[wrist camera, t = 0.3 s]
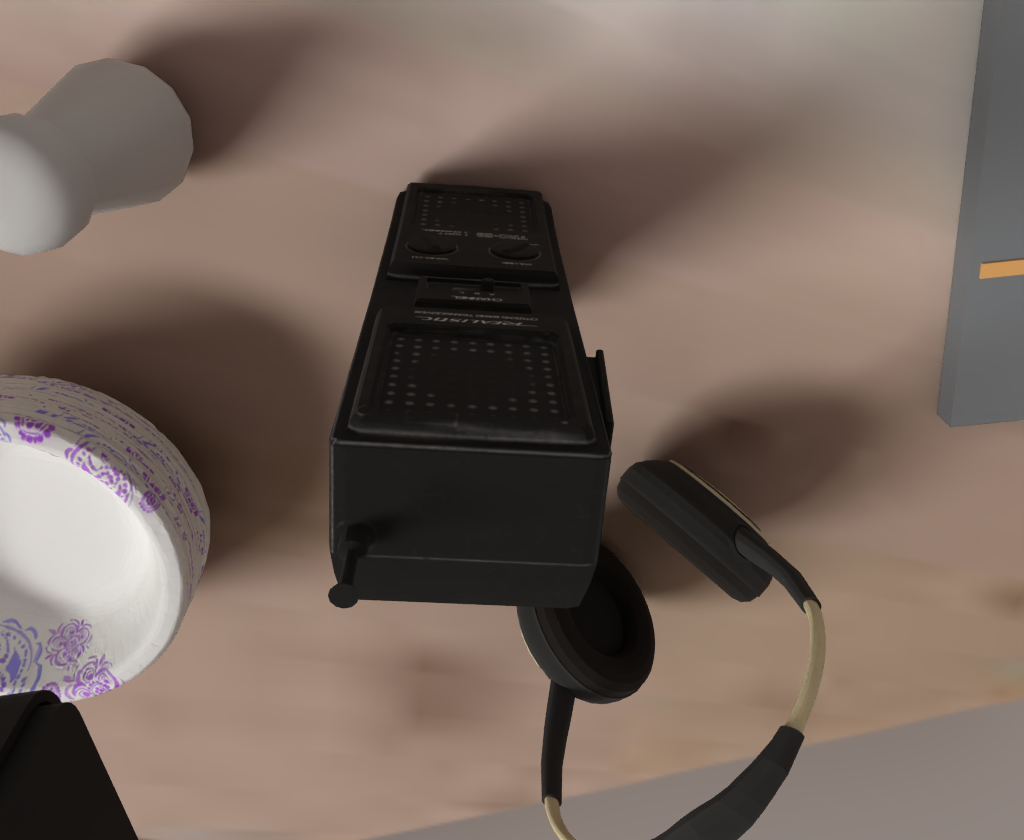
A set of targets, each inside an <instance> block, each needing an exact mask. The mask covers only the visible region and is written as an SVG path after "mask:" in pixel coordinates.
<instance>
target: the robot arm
mask: <svg viewBox="0 0 1024 840" xmlns="http://www.w3.org/2000/svg"><path fill="white" fill-rule="evenodd" d="M0 840H138V838H137V836H136V833H135V831H134V829H133V827H132V825H131V823H130V820H129V818H128V816H127V814H126V812H125V810H124V807H123V805H122V803H121V801H120V799H119V797H118V794H117V792H116V790H115V788H114V786H113V784H112V781H111V779H110V777H109V775H108V773H107V771H106V768H105V766H104V764H103V762H102V760H101V758H100V755H99V753H98V751H97V749H96V747H95V745H94V742H93V740H92V738H91V736H90V734H89V732H88V729H87V727H86V725H85V723H84V721H83V719H82V716H81V714H80V712H79V711H78V709H77V708H76V706H75V705H73V704H72V703H68V702H64V703H62V702H61V700H60V699H59V697H58V696H57V695H56V694H55V693H53V692H52V691H51V690H38V691H31V692H23V693H16V694H9V695H2V696H0Z"/></svg>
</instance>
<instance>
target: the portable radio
mask: <svg viewBox="0 0 1024 840" xmlns="http://www.w3.org/2000/svg"><path fill="white" fill-rule="evenodd" d="M613 427H614V421H613V414H612V408H611V401H610V394H609V388H608V381H607V374H606V367H605V361H604V354H603V351H602V350H597V351H596V357H586V353H585V349H584V345H583V342H582V338H581V334H580V330H579V326H578V322H577V319H576V315H575V311H574V307H573V303H572V299H571V295H570V291H569V287H568V283H567V279H566V275H565V271H564V267H563V263H562V259H561V255H560V251H559V246H558V242H557V237H556V232H555V227H554V222H553V216H552V211H551V207H550V205H549V203H547V202H544V201H543V200H542V194H541V193H540V192H537V191H525V190H512V189H500V188H488V187H476V186H459V185H442V184H426V183H410V184H408V187H407V191H404V192H400V194H399V195H398V197H397V200H396V204H395V208H394V212H393V216H392V221H391V224H390V228H389V232H388V236H387V239H386V243H385V247H384V251H383V254H382V258H381V262H380V265H379V269H378V273H377V276H376V280H375V284H374V288H373V291H372V295H371V299H370V302H369V305H368V309H367V312H366V316H365V319H364V322H363V326H362V329H361V333H360V336H359V339H358V343H357V346H356V350H355V353H354V357H353V360H352V363H351V367H350V370H349V374H348V377H347V380H346V384H345V387H344V391H343V394H342V397H341V401H340V404H339V408H338V411H337V414H336V418H335V421H334V425H333V428H332V431H331V435H330V463H329V545H330V553H331V558H332V564H333V569H334V573H335V576H336V579H337V582H338V584H336V585H335V586H334V587H332V588H331V589H330V591H329V594H328V597H329V600H330V602H331V603H332V604H334V605H335V606H336V607H340V608H349V607H352V606H353V605H355V604H356V603H357V601H358V599H359V600H383V601H407V602H431V603H455V604H479V605H503V606H526V607H550V608H571V607H579V605H580V603H581V601H582V599H583V597H584V595H585V593H586V591H587V589H588V587H589V585H590V583H591V580H592V577H593V574H594V571H595V568H596V565H597V562H598V554H599V546H600V539H601V531H602V524H603V516H604V509H605V501H606V493H607V486H608V478H609V471H610V463H611V455H612V452H611V442H612V434H613Z"/></svg>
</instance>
